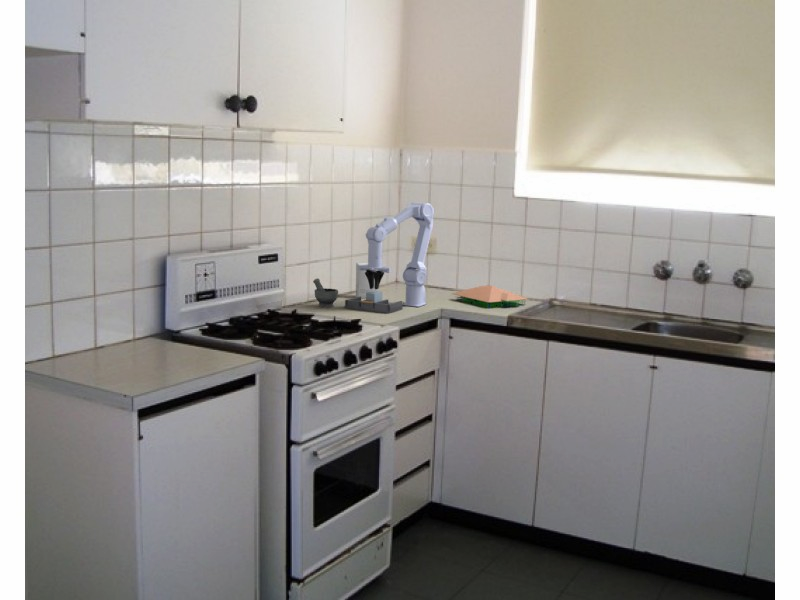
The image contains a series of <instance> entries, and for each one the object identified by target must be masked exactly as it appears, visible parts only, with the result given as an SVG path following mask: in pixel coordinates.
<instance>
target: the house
mask: <svg viewBox="0 0 800 600" xmlns="http://www.w3.org/2000/svg"><path fill="white" fill-rule="evenodd" d="M451 295H454V296H460V297H462V299H461V301H462V302H466V304H470V301H473V305H476V304H477V306H480V307H481V305H483V306H484V308H487V309H490V308H491V309H492V308H494V309H495V308H496V307H499V306H500V308H503V307H505V308H506V307H507V308H508V306H512V308H513V307H519V306H520V304H521V306H524V304H525V301H527V300H528V298H527V297H525V296H521V295H518V294H516V293H513V292H510V291H507V290H505V289H502V288H499V287H496V286H494V285H489V284H486V285H481V286H476V287H472V288H468V289H464V290H460V291H458V292H453V293H451ZM475 300H476V301H475ZM461 301H460V302H461ZM492 303H493V306H490V305H492ZM502 303H503V304H504V305H503V304H502ZM496 305H497V306H496Z"/></svg>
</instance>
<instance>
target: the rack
mask: <svg viewBox="0 0 800 600" xmlns="http://www.w3.org/2000/svg"><path fill="white" fill-rule="evenodd" d="M402 304H403V300H399V301H395V302H392V303H389V299H387V298H386V299H382V301H379V302H375V303H374V302H372V301H366V299H364V300H363V299H362V298H361V297H360V296H359V297H356V296H355V297H351V298H348V299H345V300H344V309H349V310H355V311H356V310H357V311H364V312H365V311H366V312H372V313H373V312H374V313H381V314H382V313H383V314H393V313H395V312H399V311H402V310H403V309H404V308H403V305H402Z"/></svg>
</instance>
